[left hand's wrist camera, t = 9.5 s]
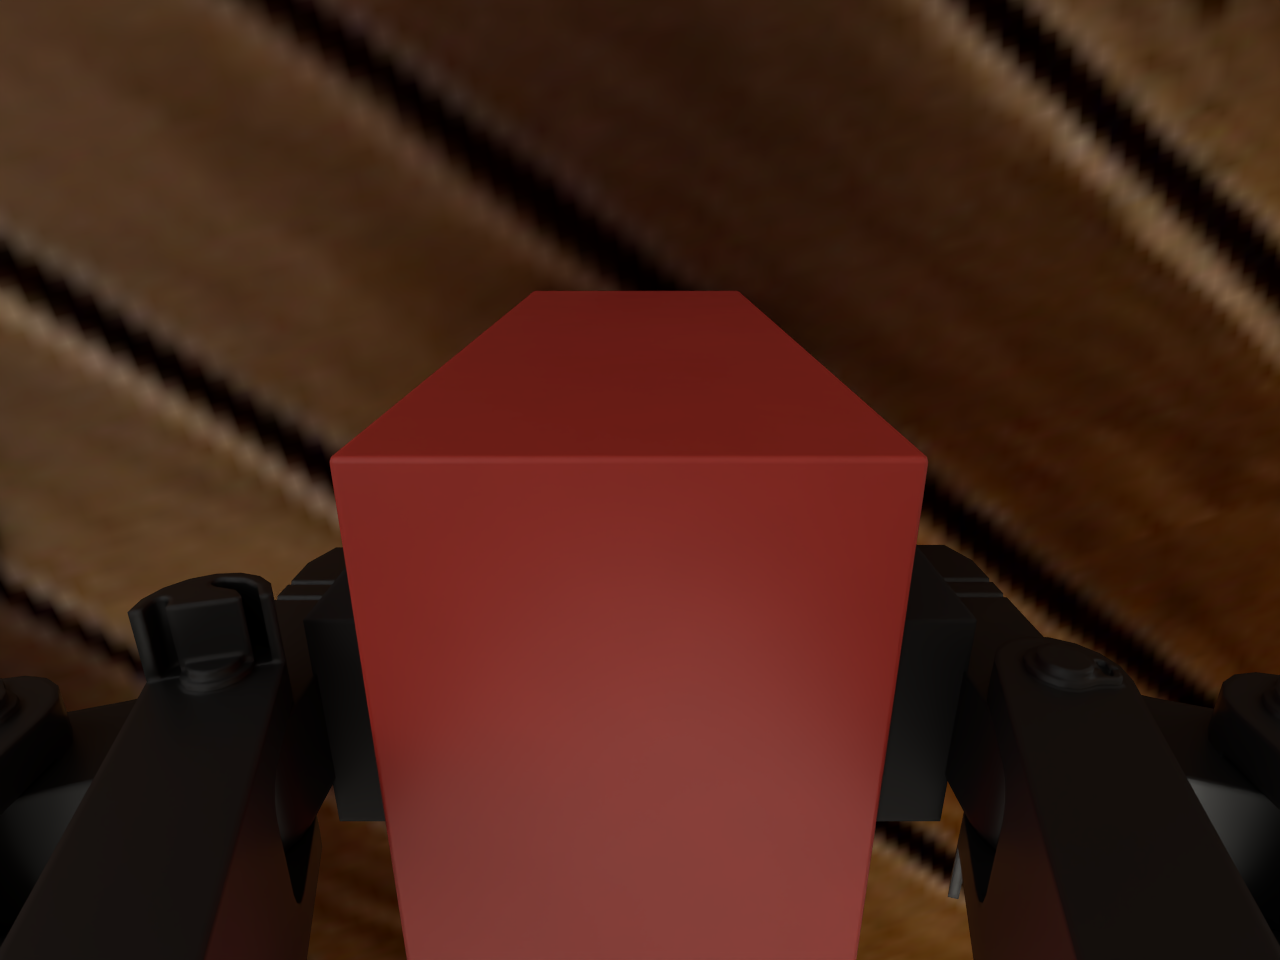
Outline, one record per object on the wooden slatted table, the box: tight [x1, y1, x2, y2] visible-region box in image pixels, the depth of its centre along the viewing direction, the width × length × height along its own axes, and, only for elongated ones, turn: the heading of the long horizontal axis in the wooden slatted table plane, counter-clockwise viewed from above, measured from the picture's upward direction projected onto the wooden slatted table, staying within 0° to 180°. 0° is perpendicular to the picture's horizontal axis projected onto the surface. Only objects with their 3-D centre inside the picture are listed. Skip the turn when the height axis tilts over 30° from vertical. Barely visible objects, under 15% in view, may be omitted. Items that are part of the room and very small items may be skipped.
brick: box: [330, 291, 928, 960], centre depth 13 cm, size 7×5×12 cm, turn 0°
